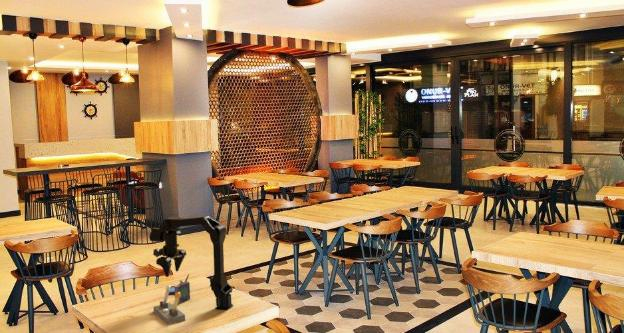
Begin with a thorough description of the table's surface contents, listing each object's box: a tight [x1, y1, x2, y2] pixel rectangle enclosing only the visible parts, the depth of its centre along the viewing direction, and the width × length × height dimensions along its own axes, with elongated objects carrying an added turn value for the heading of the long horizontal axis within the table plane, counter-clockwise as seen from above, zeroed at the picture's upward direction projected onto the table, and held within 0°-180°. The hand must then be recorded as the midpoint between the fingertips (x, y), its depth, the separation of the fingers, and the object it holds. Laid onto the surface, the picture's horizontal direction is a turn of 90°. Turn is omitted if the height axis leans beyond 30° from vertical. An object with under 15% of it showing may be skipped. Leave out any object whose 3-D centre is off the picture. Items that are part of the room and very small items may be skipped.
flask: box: [173, 279, 191, 305], centre depth 276 cm, size 9×3×11 cm, turn 146°
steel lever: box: [162, 284, 172, 304], centre depth 262 cm, size 3×3×10 cm
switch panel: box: [152, 300, 186, 325], centre depth 257 cm, size 20×8×5 cm, turn 34°
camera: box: [168, 273, 190, 296], centre depth 293 cm, size 12×11×7 cm
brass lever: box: [171, 292, 181, 313], centre depth 252 cm, size 3×3×10 cm
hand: (172, 274), depth 271 cm, fingers open, 9 cm apart
